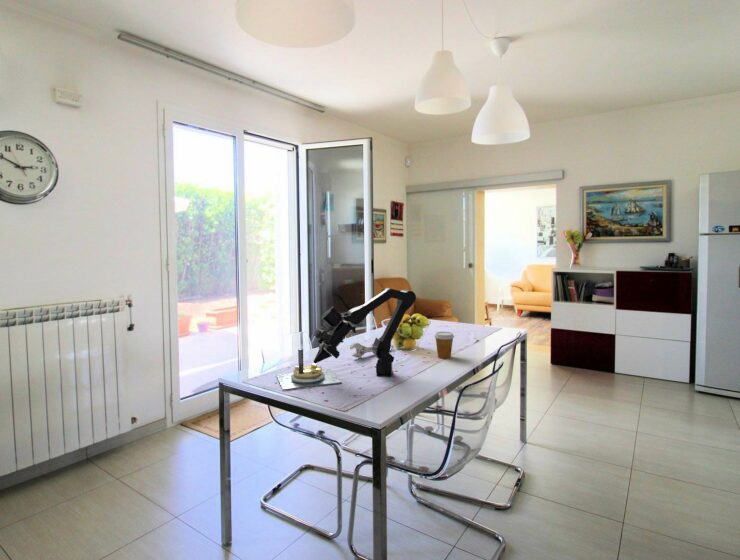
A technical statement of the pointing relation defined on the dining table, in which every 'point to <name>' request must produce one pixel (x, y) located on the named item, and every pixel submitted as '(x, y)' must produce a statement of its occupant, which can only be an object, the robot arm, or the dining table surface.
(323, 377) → the gray metal base plate
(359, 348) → the wrench
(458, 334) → the dining table surface
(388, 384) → the dining table surface
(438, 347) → the disposable coffee cup
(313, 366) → the brass chuck with rod
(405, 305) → the robot arm
